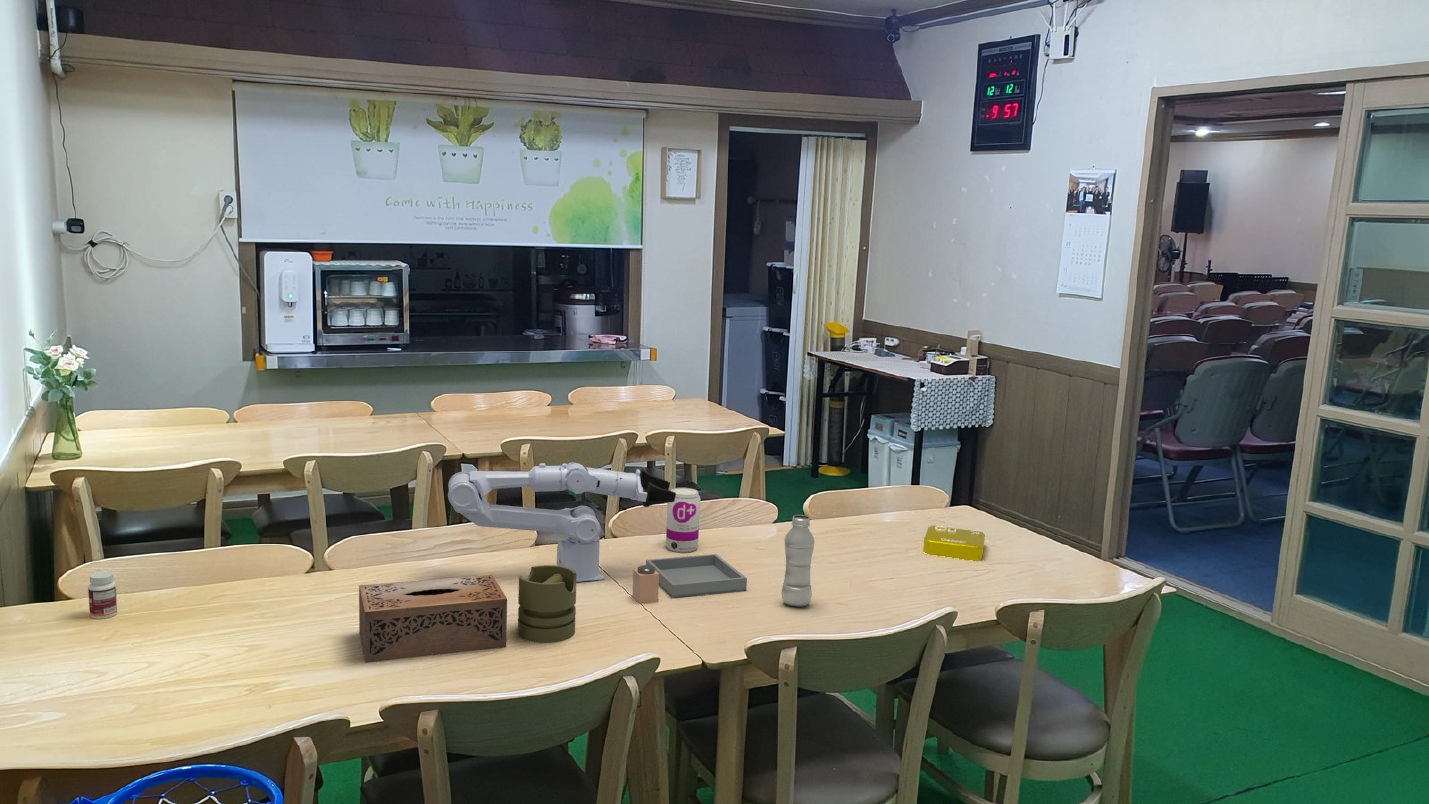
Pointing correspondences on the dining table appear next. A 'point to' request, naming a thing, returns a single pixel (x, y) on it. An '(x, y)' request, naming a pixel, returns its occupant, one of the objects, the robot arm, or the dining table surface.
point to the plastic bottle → (798, 563)
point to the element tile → (954, 543)
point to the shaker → (645, 584)
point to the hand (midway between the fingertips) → (671, 491)
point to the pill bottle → (102, 595)
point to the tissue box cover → (431, 617)
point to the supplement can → (683, 520)
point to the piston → (547, 604)
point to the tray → (697, 575)
